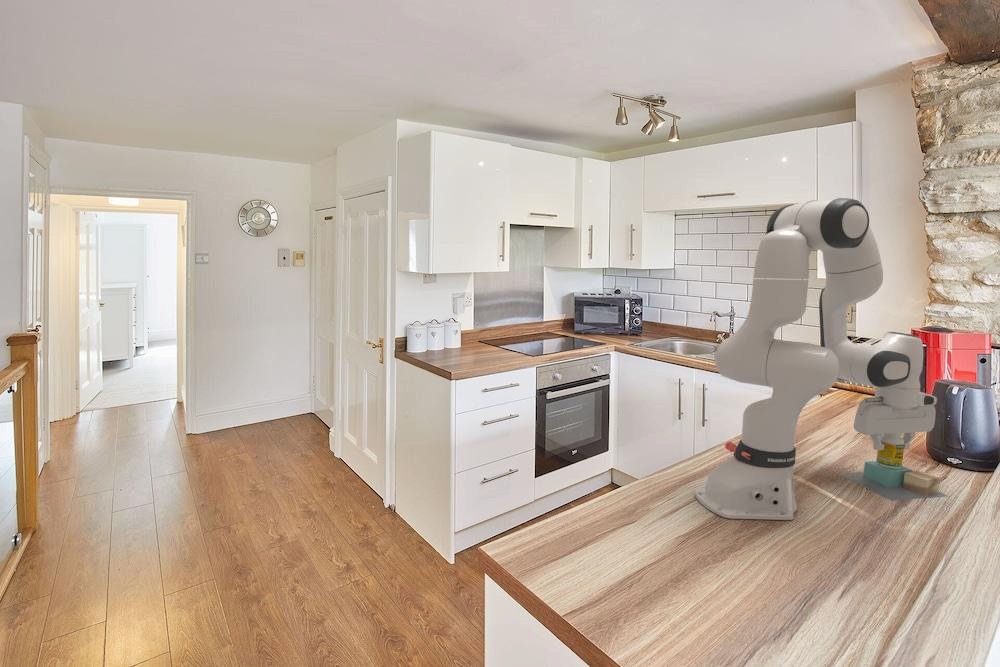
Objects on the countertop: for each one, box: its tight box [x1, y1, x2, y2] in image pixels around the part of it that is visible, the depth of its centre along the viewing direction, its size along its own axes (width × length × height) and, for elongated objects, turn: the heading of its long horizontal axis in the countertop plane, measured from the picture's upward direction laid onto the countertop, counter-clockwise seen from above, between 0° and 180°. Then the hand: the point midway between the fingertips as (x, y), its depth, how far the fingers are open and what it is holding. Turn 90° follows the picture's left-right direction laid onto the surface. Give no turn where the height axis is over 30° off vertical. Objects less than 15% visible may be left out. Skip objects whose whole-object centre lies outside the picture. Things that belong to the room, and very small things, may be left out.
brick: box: [903, 469, 941, 496], centre depth 128 cm, size 5×5×4 cm
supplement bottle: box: [875, 433, 905, 469], centre depth 133 cm, size 5×5×10 cm
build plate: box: [838, 471, 949, 502], centre depth 132 cm, size 16×16×1 cm
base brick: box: [863, 460, 914, 487], centre depth 134 cm, size 7×7×4 cm
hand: (891, 449), depth 133 cm, fingers open, 6 cm apart
